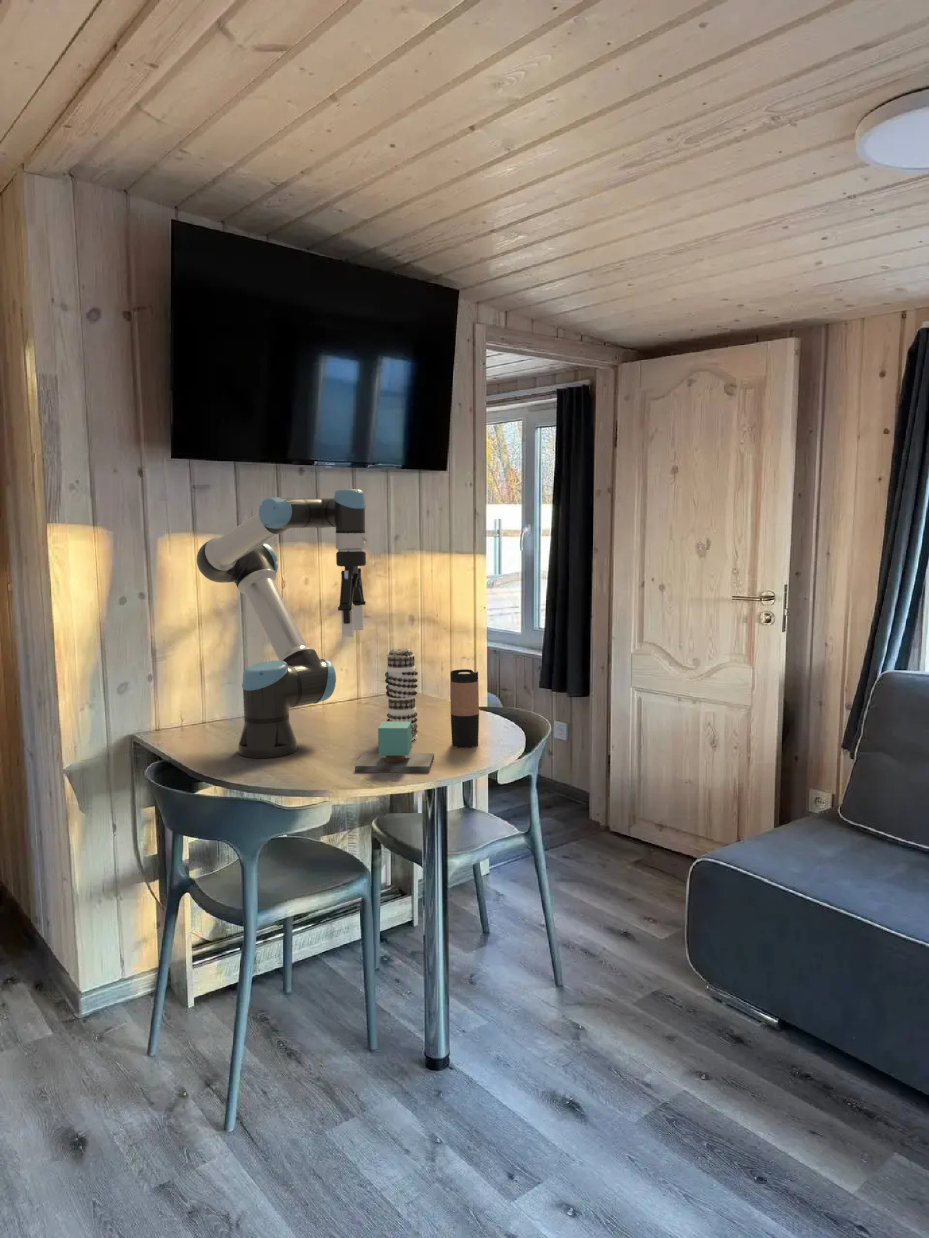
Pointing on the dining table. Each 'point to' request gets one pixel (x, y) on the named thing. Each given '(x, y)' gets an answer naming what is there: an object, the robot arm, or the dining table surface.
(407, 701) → the decorative candle
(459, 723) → the travel mug
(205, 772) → the dining table surface
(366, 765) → the grey base with post
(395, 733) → the mint green cube
